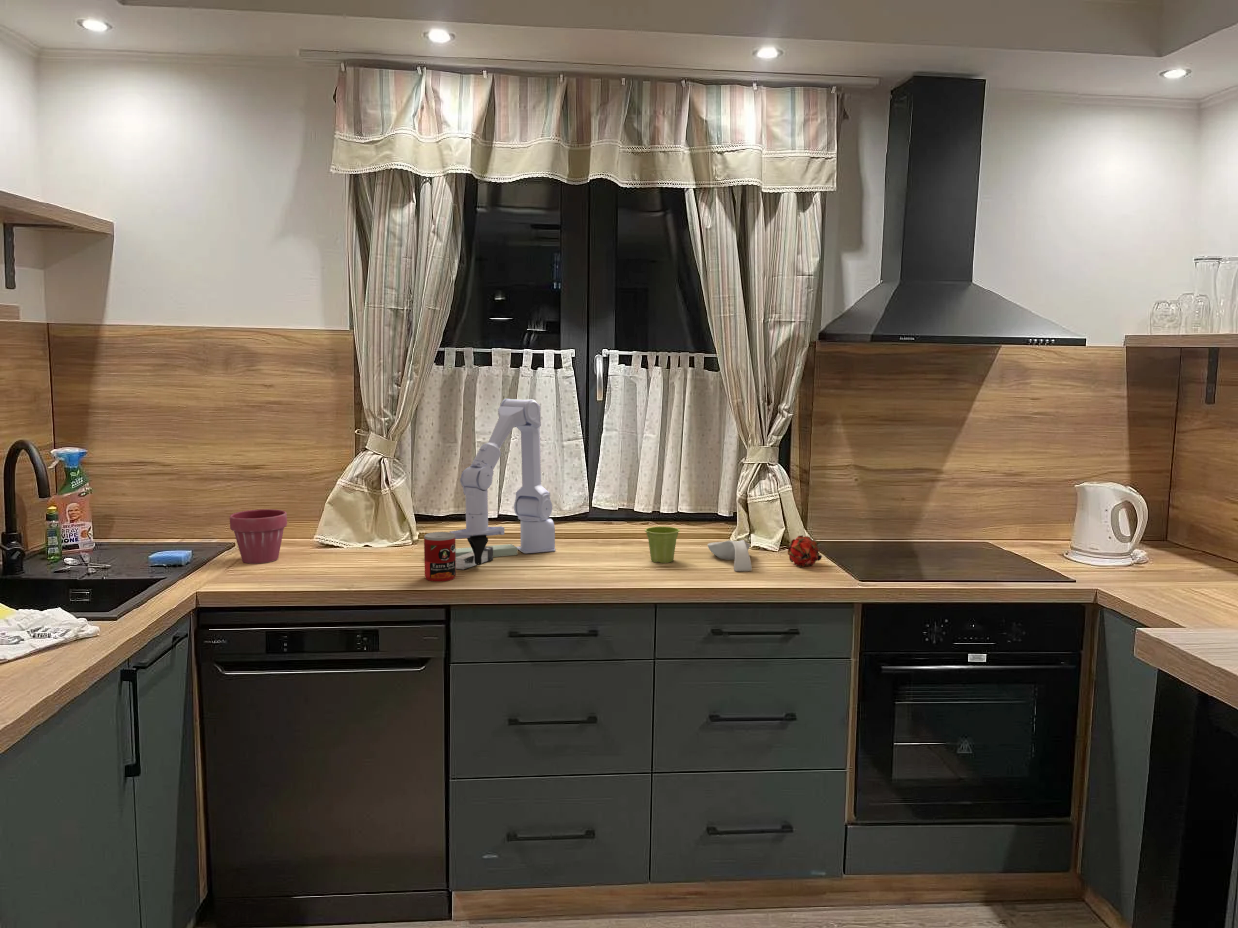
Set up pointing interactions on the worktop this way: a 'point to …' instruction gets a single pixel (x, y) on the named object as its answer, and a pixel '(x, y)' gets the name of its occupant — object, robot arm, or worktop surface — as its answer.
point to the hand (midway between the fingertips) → (477, 563)
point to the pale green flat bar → (497, 550)
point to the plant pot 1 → (259, 534)
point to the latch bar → (468, 559)
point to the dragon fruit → (803, 551)
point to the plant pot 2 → (662, 543)
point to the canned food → (440, 556)
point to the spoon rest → (733, 553)
